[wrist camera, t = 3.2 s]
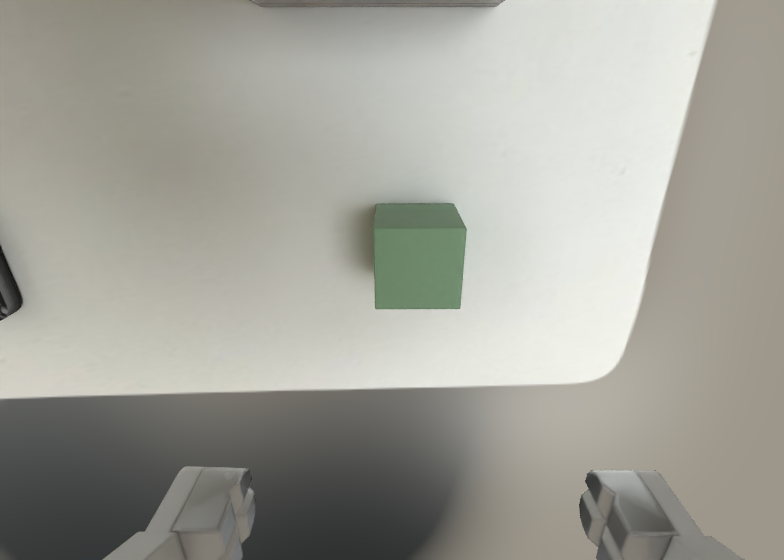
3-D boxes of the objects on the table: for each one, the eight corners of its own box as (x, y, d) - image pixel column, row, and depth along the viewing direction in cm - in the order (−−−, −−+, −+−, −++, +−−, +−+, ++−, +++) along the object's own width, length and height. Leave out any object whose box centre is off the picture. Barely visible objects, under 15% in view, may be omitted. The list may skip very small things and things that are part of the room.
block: (376, 203, 25) (373, 228, 20) (454, 203, 25) (466, 227, 20) (377, 274, 27) (375, 309, 22) (449, 274, 27) (460, 309, 22)
